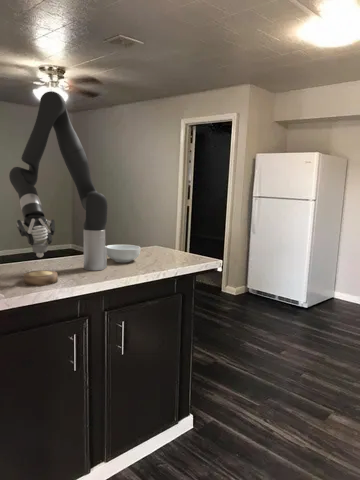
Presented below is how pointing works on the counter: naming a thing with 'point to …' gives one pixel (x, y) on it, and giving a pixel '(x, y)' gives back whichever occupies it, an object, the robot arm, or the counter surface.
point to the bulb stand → (40, 278)
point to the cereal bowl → (123, 252)
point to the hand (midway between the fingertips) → (41, 243)
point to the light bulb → (39, 247)
